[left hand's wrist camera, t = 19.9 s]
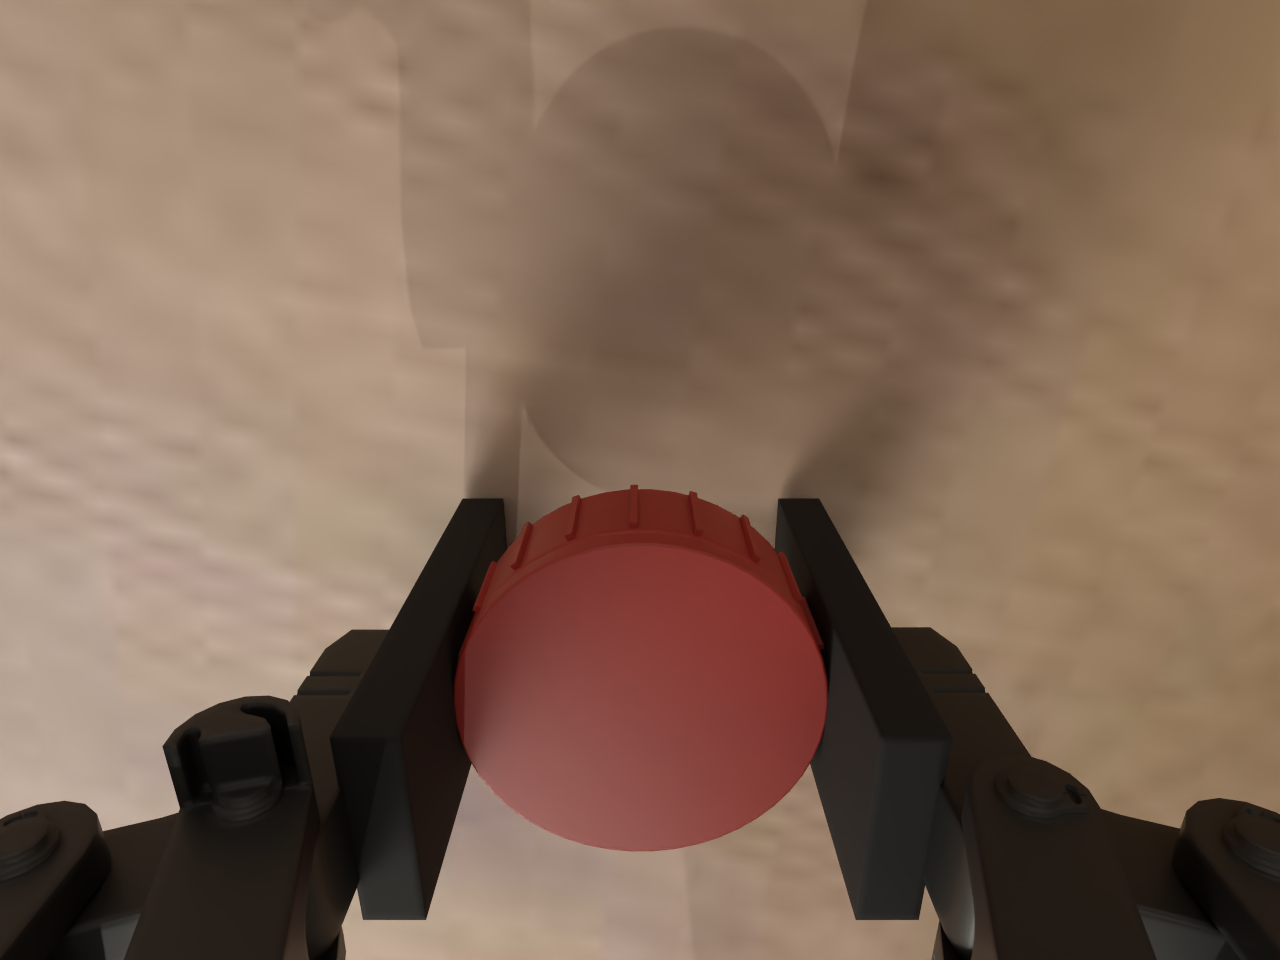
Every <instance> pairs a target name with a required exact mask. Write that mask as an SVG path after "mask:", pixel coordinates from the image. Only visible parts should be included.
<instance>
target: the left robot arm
mask: <svg viewBox="0 0 1280 960" xmlns="http://www.w3.org/2000/svg"><path fill="white" fill-rule="evenodd" d="M506 550H507V545H506V531H505V517H504V503H503V499H462V501H461V503H460V504H459V506H458V508H457V510H456V512H455V513H454V515H453V517H452V519H451V521H450V522H449V524H448V526H447V528H446V529H445V531H444V533H443V535H442V537H441V538H440V540H439V542H438V544H437V546H436V547H435V549H434V551H433V553H432V555H431V556H430V558H429V560H428V562H427V563H426V565H425V567H424V569H423V571H422V572H421V574H420V576H419V578H418V580H417V581H416V583H415V585H414V587H413V589H412V590H411V592H410V594H409V596H408V597H407V599H406V601H405V603H404V605H403V606H402V608H401V610H400V612H399V614H398V615H397V617H396V619H395V621H394V623H393V624H392V626H391V628H390V630H351V631H349V632H348V633H347V634H345V635H344V636H343V637H341V638H340V639H338V640H337V641H336V642H334V643H333V644H332V645H330V646H329V647H327V648H326V649H325V650H324V652H323V653H322V655H321V656H320V658H319V659H318V661H317V662H316V664H315V665H314V667H313V668H312V670H311V671H310V676H307V677H306V679H305V680H304V682H303V683H302V685H301V686H300V687H299V689H298V693H297V695H294V696H293V698H292V699H291V701H290V702H289V701H288V700H284V699H280V698H276V697H272V696H249V697H242V698H238V699H234V700H230V701H226V702H222V703H219V704H217V705H215V706H212V707H210V708H208V709H206V710H204V711H202V712H199V713H197V714H195V715H194V716H192V717H191V718H190V719H188V720H187V721H186V722H184V723H183V724H182V725H180V726H179V727H178V728H176V729H175V730H174V731H173V733H172V734H171V736H170V737H169V738H168V740H167V741H166V742H165V744H164V745H163V750H164V753H165V757H166V760H167V764H168V767H169V771H170V774H171V778H172V781H173V785H174V788H175V792H176V795H177V799H178V802H179V806H180V810H179V813H176V814H172V815H169V816H166V817H163V818H159V819H154V820H150V821H146V822H141V823H137V824H133V825H128V826H124V827H120V828H115V829H111V830H107V831H102V828H101V825H100V822H99V819H98V816H97V814H96V813H95V812H94V811H93V810H92V809H90V808H89V807H88V806H87V805H86V804H82V803H75V802H69V801H60V802H53V803H46V804H39V805H35V806H33V807H30V808H27V809H24V810H21V811H18V812H16V813H13V814H10V815H7V816H5V817H4V818H2V819H0V960H345V957H346V949H345V942H344V935H343V930H342V923H343V921H344V918H345V916H346V913H347V911H348V908H349V906H350V903H351V901H352V898H353V896H354V893H355V891H356V888H357V890H358V895H359V900H360V906H361V911H362V917H363V920H426V918H427V914H428V911H429V907H430V904H431V900H432V897H433V894H434V890H435V887H436V883H437V880H438V876H439V873H440V870H441V866H442V863H443V859H444V856H445V852H446V849H447V846H448V842H449V839H450V835H451V832H452V829H453V825H454V822H455V818H456V815H457V811H458V808H459V805H460V801H461V798H462V794H463V791H464V787H465V784H466V781H467V777H468V774H469V770H470V767H471V761H470V760H469V758H468V755H467V753H466V751H465V749H464V747H463V744H462V742H461V739H460V735H459V732H458V728H457V724H456V717H455V708H454V678H455V673H456V669H457V664H458V659H459V656H458V655H459V652H460V650H461V647H462V645H463V642H464V639H465V637H466V634H467V632H468V629H469V626H470V624H471V621H472V619H473V616H474V613H475V611H473V607H474V605H475V602H476V599H477V597H478V594H479V592H480V589H481V586H482V584H483V581H484V579H485V576H486V573H487V571H488V568H489V566H490V564H491V562H492V561H494V562H496V563H498V561H499V559H500V558H501V557H502V555H503V554H504V553H505V551H506ZM775 551H776V552H777V553H778V554H779V553H780V552H782V551H783V552H784V554H785V555H786V557H787V560H788V562H789V565H790V568H791V570H792V573H793V575H794V578H795V581H796V583H797V586H798V588H799V591H800V593H801V596H802V597H805V599H806V601H807V604H808V606H809V609H810V611H811V614H812V616H813V619H814V621H815V624H816V626H817V629H818V632H819V634H820V637H821V639H822V642H823V645H824V650H820V651H821V654H822V657H823V660H824V665H825V669H826V674H827V678H828V704H827V713H826V722H825V727H824V731H823V734H822V738H821V741H820V743H819V746H818V748H817V750H816V752H815V755H814V757H813V759H812V761H811V762H810V765H811V768H812V772H813V775H814V778H815V782H816V785H817V789H818V792H819V795H820V799H821V802H822V806H823V809H824V813H825V816H826V819H827V823H828V826H829V830H830V833H831V837H832V840H833V843H834V847H835V850H836V854H837V857H838V860H839V864H840V867H841V871H842V874H843V878H844V881H845V884H846V888H847V891H848V895H849V898H850V902H851V905H852V908H853V912H854V915H855V919H856V920H919V915H920V910H921V905H922V899H923V894H924V888H925V885H926V888H927V890H928V893H929V895H930V898H931V900H932V903H933V905H934V908H935V910H936V912H937V915H938V917H939V925H938V930H937V935H936V940H935V945H934V950H933V955H932V960H1280V814H1278V813H1276V812H1273V811H1270V810H1267V809H1265V808H1262V807H1259V806H1256V805H1253V804H1250V803H1247V802H1242V801H1236V800H1229V799H1222V798H1216V799H1209V800H1203V801H1198V802H1197V803H1196V804H1194V805H1193V806H1192V807H1191V808H1190V809H1188V810H1187V811H1186V814H1185V817H1184V820H1183V823H1182V826H1181V829H1179V828H1175V827H1170V826H1166V825H1162V824H1157V823H1153V822H1149V821H1144V820H1140V819H1136V818H1132V817H1127V816H1123V815H1119V814H1116V813H1113V812H1109V811H1106V810H1103V809H1100V807H1099V805H1098V804H1097V802H1096V800H1095V799H1094V797H1093V796H1092V794H1091V793H1090V791H1089V790H1088V789H1087V788H1086V787H1085V786H1084V785H1083V784H1081V783H1080V782H1079V781H1078V780H1077V779H1075V778H1074V777H1073V776H1072V775H1071V774H1070V773H1068V772H1066V771H1064V770H1062V769H1060V768H1058V767H1056V766H1054V765H1052V764H1050V763H1048V762H1046V761H1043V760H1040V759H1036V758H1033V757H1031V755H1030V754H1029V753H1028V751H1027V750H1026V748H1025V747H1024V745H1023V744H1022V742H1021V741H1020V739H1019V738H1018V736H1017V735H1016V733H1015V732H1014V730H1013V729H1012V727H1011V726H1010V724H1009V723H1008V721H1007V720H1006V719H1005V717H1004V716H1003V714H1002V713H1001V711H1000V710H999V708H998V707H997V705H996V704H995V702H994V701H993V699H992V698H991V696H990V695H989V693H985V687H984V686H983V685H982V683H981V682H980V680H979V679H978V677H977V676H976V674H973V673H972V668H971V667H970V665H969V664H968V662H967V661H966V659H965V658H964V656H963V655H962V654H961V652H960V651H959V649H958V648H957V646H955V645H954V644H952V643H951V642H950V641H948V640H947V639H946V638H944V637H943V636H941V635H940V634H939V633H937V632H936V631H934V630H933V629H932V628H930V627H894V628H891V626H890V625H889V623H888V621H887V619H886V618H885V616H884V614H883V612H882V610H881V609H880V607H879V605H878V603H877V601H876V600H875V598H874V596H873V594H872V593H871V591H870V589H869V587H868V585H867V584H866V582H865V580H864V578H863V576H862V575H861V573H860V571H859V569H858V568H857V566H856V564H855V562H854V560H853V559H852V557H851V555H850V553H849V551H848V550H847V548H846V546H845V544H844V542H843V541H842V539H841V537H840V535H839V534H838V532H837V530H836V528H835V526H834V525H833V523H832V521H831V519H830V517H829V516H828V514H827V512H826V510H825V509H824V507H823V505H822V503H821V501H820V500H819V499H778V512H777V526H776V540H775Z"/></svg>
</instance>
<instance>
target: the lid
mask: <svg viewBox="0 0 1280 960" xmlns="http://www.w3.org/2000/svg"><path fill="white" fill-rule="evenodd" d="M473 611H475V613H474V616H473V619H472V621H471V624H470V626H469V629H468V632H467V634H466V637H465V639H464V642H463V645H462V647H461V650H460V652H459V655H458V656H459V659H458V664H457V669H456V673H455V678H454V708H455V717H456V724H457V728H458V732H459V735H460V739H461V742H462V744H463V747H464V749H465V751H466V753H467V755H468V758H469V760H470V761H471V763H472V765H473V766H474V768H475V769H476V771H477V773H478V774H479V776H480V777H481V778H482V780H483V781H484V782H485V783H486V784H487V786H488V787H489V788H490V789H491V790H492V792H493V793H494V794H495V795H496V796H498V797H499V798H500V799H501V800H502V801H503V802H504V803H505V804H506V805H507V806H508V807H510V808H511V809H512V810H514V811H515V812H517V813H518V814H519V815H521V816H522V817H524V818H525V819H526V820H528V821H530V822H532V823H534V824H535V825H537V826H539V827H541V828H543V829H544V830H546V831H549V832H551V833H554V834H556V835H558V836H561V837H563V838H565V839H569V840H572V841H575V842H579V843H582V844H585V845H590V846H595V847H600V848H605V849H612V850H623V851H659V850H669V849H677V848H682V847H687V846H691V845H696V844H700V843H703V842H706V841H709V840H712V839H716V838H719V837H721V836H723V835H725V834H728V833H730V832H732V831H735V830H737V829H739V828H741V827H743V826H744V825H746V824H748V823H750V822H751V821H753V820H755V819H757V818H758V817H759V816H761V815H762V814H763V813H765V812H766V811H768V810H769V809H770V808H772V807H773V806H774V805H775V804H776V803H777V802H778V801H780V800H781V799H782V798H783V797H784V796H785V795H786V794H787V793H788V792H789V791H790V790H791V789H792V787H793V786H794V785H795V784H796V783H797V781H798V780H799V779H800V778H801V777H802V775H803V774H804V772H805V770H806V769H807V767H808V766H809V764H810V762H811V761H812V759H813V757H814V755H815V752H816V750H817V748H818V746H819V743H820V741H821V738H822V734H823V731H824V727H825V722H826V713H827V704H828V678H827V674H826V669H825V665H824V660H823V657H822V654H821V651H820V650H824V645H823V642H822V639H821V637H820V634H819V632H818V629H817V626H816V624H815V621H814V619H813V616H812V614H811V611H810V609H809V606H808V604H807V601H806V599H805V597H802V596H801V593H800V591H799V588H798V586H797V583H796V581H795V578H794V575H793V573H792V570H791V568H790V565H789V562H788V560H787V557H786V555H785V554H784V552H783V551H782V552H780V553H779V554H778V553H777V552H776V551H775V550H774V548H773V547H772V546H771V544H770V543H769V542H768V541H767V540H766V539H765V538H764V537H763V536H762V535H761V534H759V533H758V532H757V531H756V530H755V529H754V528H753V527H752V526H751V525H750V522H749V519H748V517H746V516H745V515H742V516H741V517H740V518H739V517H738V516H736V515H734V514H732V513H730V512H729V511H727V510H725V509H723V508H721V507H719V506H717V505H715V504H712V503H710V502H707V501H704V500H702V499H699V498H698V497H697V493H695V492H691V491H690V493H689V496H688V495H684V494H680V493H676V492H669V491H661V490H652V489H638V485H631V486H630V490H621V491H613V492H605V493H601V494H597V495H594V496H590V497H586V498H582V499H581V498H580V496H579V495H577V496H574V497H573V498H572V503H570V504H567V505H564V506H562V507H560V508H559V509H557V510H555V511H553V512H551V513H549V514H548V515H546V516H544V517H542V518H541V519H540V520H538V521H537V522H536V523H534V524H533V525H531V524H530V523H529V522H527V523H526V524H525V525H524V526H523V529H522V532H521V535H520V536H519V537H518V538H517V539H516V540H515V541H514V542H513V543H512V544H511V545H510V546H509V548H508V549H507V550H506V551H505V553H504V554H503V555H502V557H501V558H500V559H499V561H498V563H496V562H494V561H492V562H491V564H490V566H489V568H488V571H487V573H486V576H485V579H484V581H483V584H482V586H481V589H480V592H479V594H478V597H477V599H476V602H475V605H474V607H473Z"/></svg>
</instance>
